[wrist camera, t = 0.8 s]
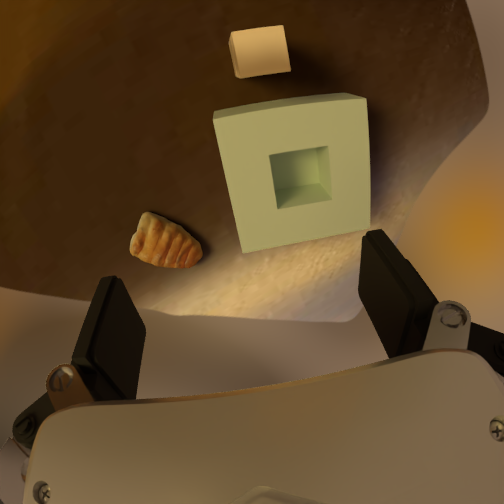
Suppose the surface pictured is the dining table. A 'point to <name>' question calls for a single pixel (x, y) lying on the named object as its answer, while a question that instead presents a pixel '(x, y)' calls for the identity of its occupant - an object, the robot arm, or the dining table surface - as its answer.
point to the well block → (296, 168)
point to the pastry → (164, 243)
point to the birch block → (259, 51)
